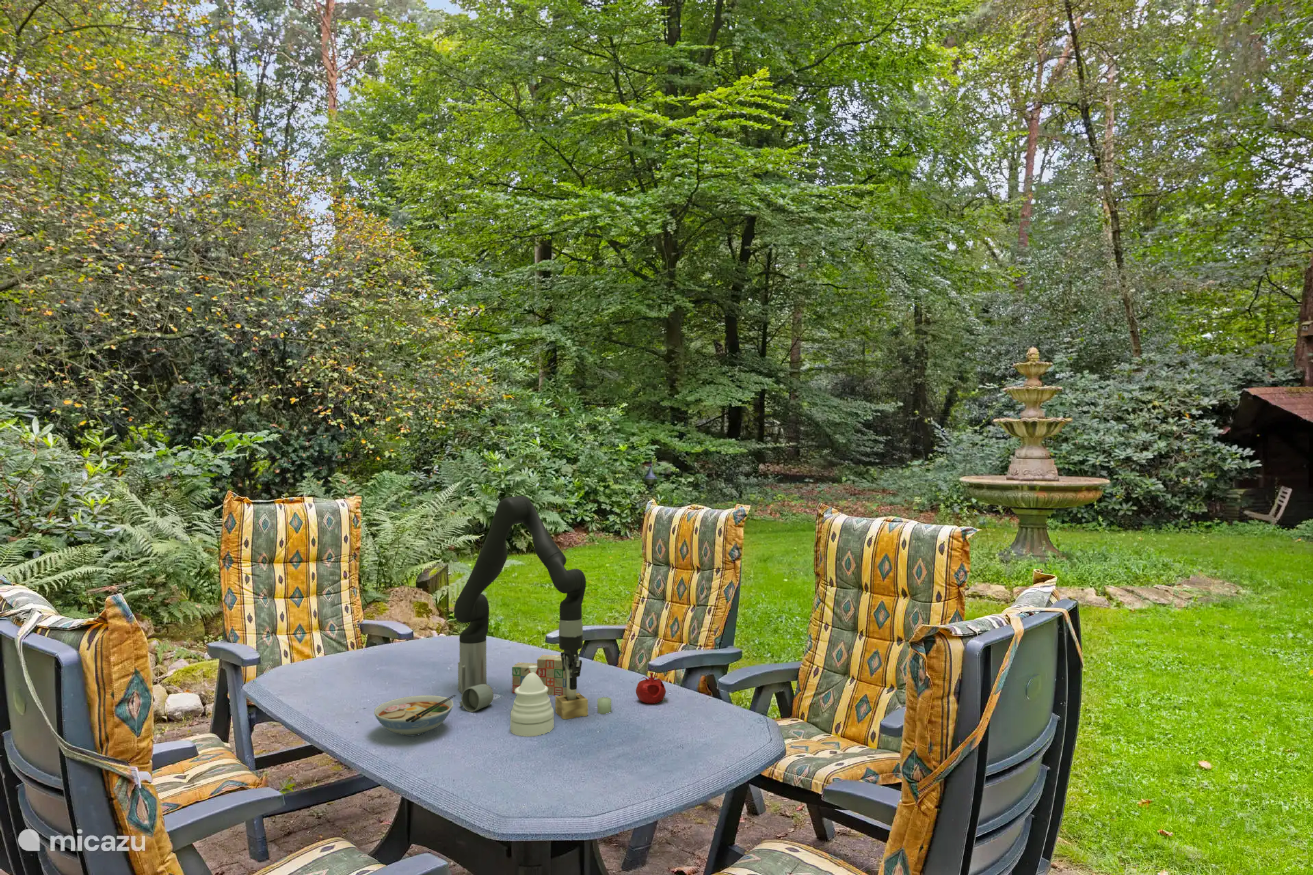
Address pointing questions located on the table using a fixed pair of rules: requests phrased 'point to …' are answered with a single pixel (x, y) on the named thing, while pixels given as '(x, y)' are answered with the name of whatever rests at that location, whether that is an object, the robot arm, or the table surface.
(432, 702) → the ramen bowl
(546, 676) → the stack of blocks
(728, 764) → the table surface
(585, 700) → the bead block
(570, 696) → the cream capped cylinder
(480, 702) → the ceramic mug
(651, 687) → the pomegranate
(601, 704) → the bead
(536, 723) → the honey pot
